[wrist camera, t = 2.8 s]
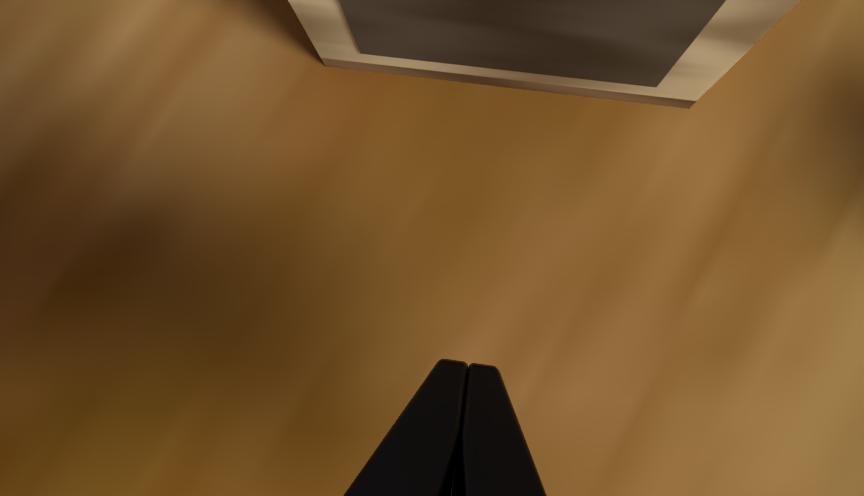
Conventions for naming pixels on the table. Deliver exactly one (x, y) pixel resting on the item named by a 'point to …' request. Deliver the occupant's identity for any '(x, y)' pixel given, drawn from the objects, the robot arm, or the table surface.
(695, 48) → the slab
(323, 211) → the table surface
